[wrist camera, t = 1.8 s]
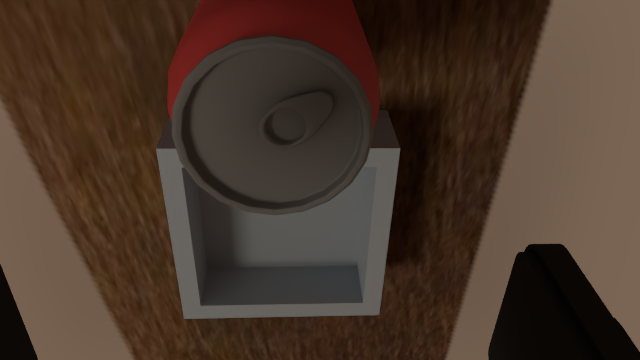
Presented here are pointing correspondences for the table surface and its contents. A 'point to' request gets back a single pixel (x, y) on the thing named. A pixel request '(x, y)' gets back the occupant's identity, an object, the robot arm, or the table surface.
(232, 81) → the beer can
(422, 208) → the table surface
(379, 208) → the tray
